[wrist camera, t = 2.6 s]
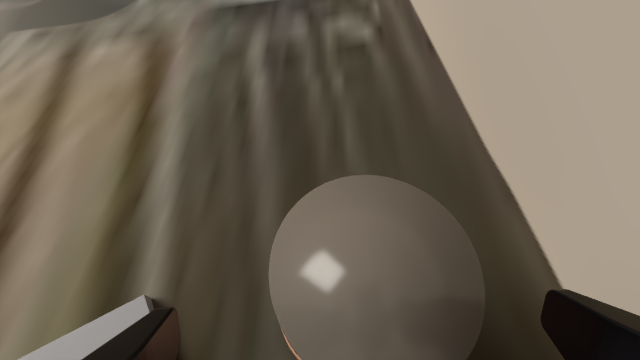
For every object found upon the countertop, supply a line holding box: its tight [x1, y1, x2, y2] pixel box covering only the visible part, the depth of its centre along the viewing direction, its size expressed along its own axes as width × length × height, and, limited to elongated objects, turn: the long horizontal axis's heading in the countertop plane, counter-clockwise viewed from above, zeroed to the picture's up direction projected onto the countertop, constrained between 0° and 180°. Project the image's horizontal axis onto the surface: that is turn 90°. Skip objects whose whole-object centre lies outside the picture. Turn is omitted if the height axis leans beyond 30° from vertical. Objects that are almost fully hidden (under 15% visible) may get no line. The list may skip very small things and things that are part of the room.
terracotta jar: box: [269, 175, 485, 360], centre depth 11 cm, size 5×5×10 cm
